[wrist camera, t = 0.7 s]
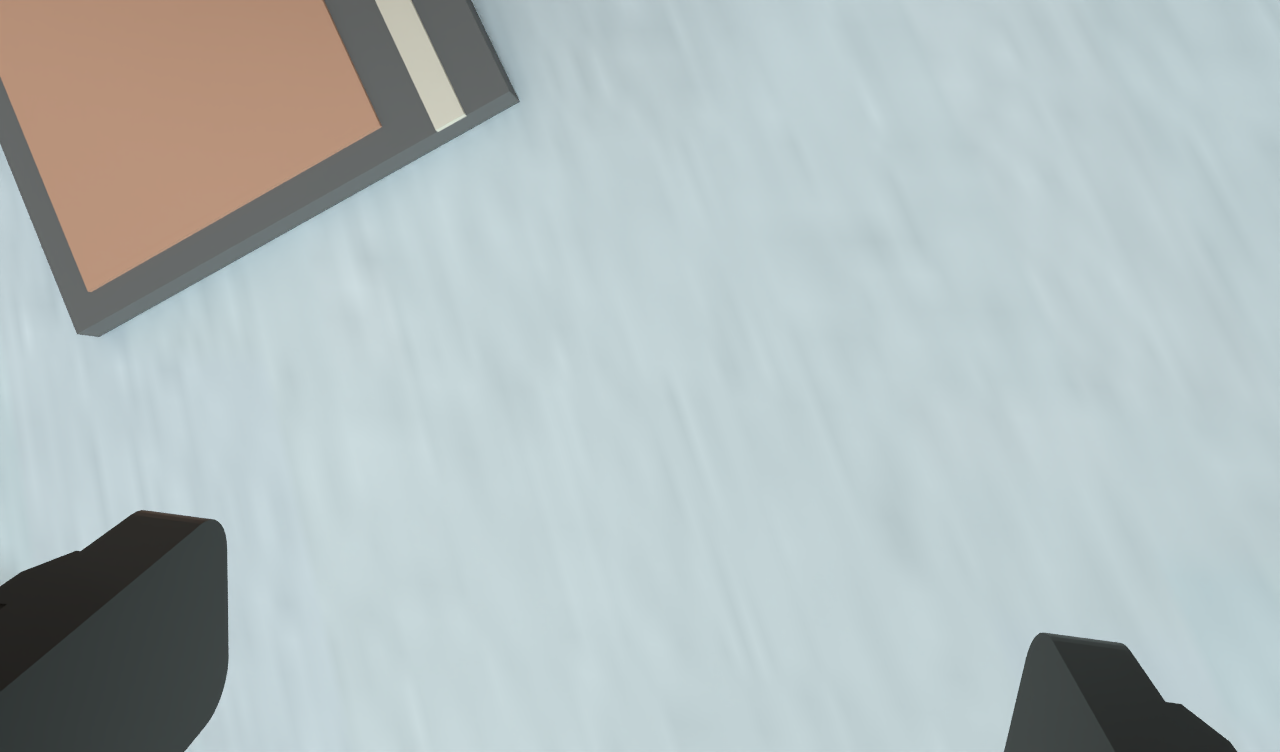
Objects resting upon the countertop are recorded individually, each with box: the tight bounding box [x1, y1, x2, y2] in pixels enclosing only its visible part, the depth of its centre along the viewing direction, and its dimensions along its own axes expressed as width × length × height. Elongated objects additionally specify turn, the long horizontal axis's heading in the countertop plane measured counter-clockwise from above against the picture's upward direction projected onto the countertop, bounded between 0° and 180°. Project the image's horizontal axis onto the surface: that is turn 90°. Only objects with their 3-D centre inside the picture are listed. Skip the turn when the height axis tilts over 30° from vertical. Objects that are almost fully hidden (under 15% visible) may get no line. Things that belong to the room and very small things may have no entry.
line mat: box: [0, 0, 520, 337], centre depth 33 cm, size 16×13×1 cm
